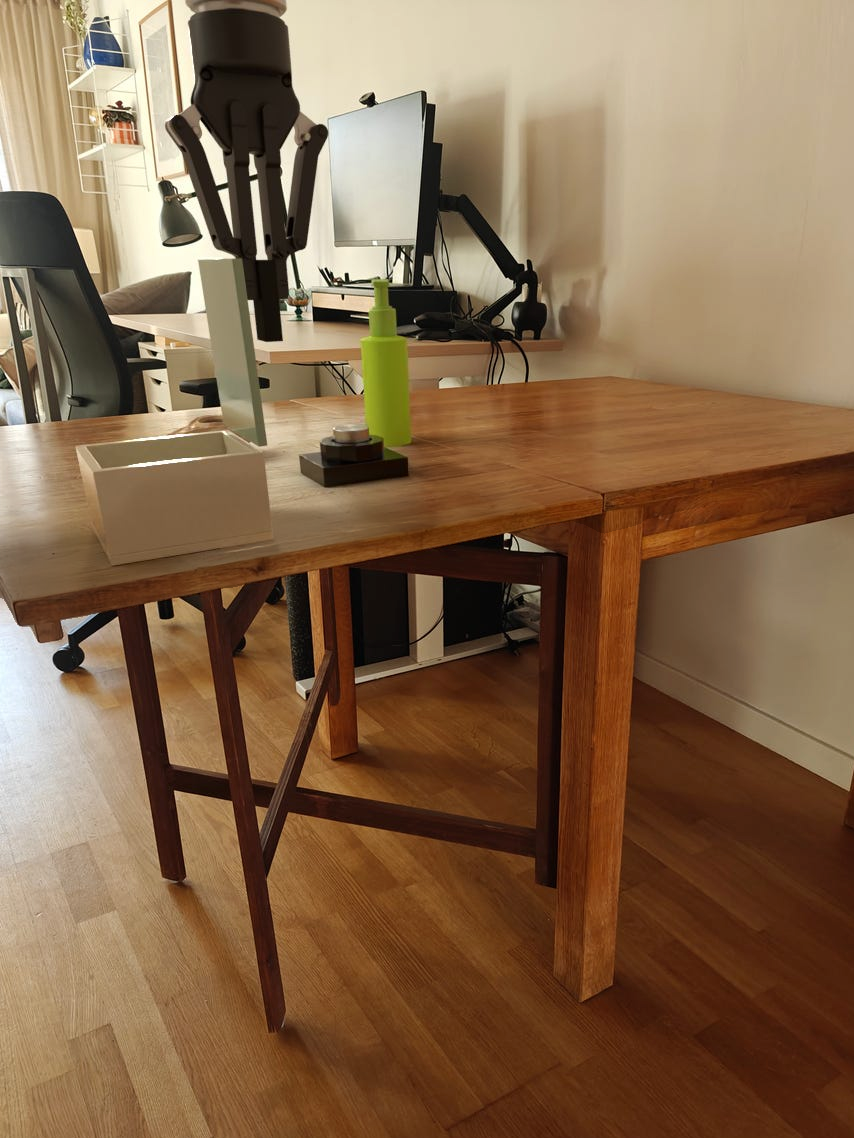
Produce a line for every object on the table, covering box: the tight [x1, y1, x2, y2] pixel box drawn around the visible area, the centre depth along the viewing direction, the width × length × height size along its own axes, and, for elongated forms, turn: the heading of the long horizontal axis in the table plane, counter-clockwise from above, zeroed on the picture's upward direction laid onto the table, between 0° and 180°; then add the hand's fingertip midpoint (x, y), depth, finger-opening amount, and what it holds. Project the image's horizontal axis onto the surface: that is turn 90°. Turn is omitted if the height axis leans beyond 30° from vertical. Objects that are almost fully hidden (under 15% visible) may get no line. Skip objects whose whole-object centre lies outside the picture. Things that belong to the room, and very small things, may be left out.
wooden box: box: [75, 430, 274, 567], centre depth 76 cm, size 14×12×8 cm
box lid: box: [197, 257, 268, 448], centre depth 75 cm, size 15×12×1 cm
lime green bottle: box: [359, 278, 412, 448], centre depth 111 cm, size 6×7×20 cm
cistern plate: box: [298, 434, 410, 489], centre depth 97 cm, size 10×8×4 cm
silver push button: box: [332, 423, 370, 444], centre depth 96 cm, size 4×4×2 cm
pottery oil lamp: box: [163, 414, 251, 444], centre depth 104 cm, size 9×12×7 cm
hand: (270, 340), depth 76 cm, fingers closed
